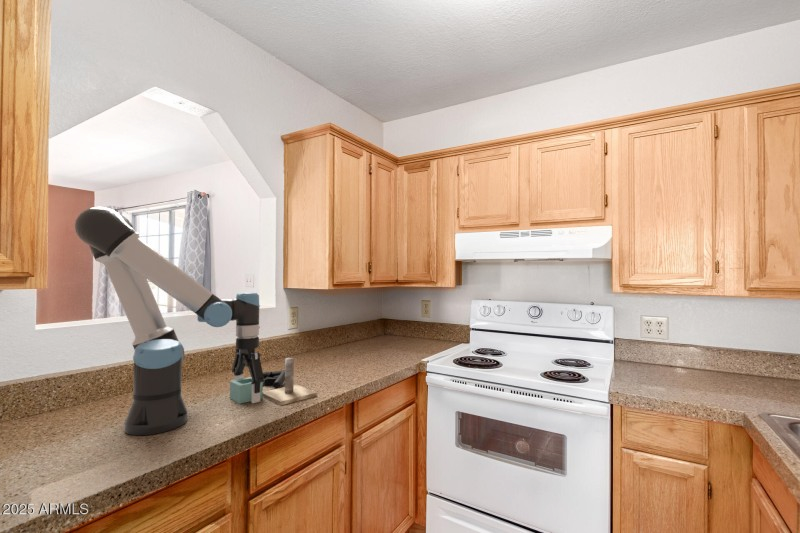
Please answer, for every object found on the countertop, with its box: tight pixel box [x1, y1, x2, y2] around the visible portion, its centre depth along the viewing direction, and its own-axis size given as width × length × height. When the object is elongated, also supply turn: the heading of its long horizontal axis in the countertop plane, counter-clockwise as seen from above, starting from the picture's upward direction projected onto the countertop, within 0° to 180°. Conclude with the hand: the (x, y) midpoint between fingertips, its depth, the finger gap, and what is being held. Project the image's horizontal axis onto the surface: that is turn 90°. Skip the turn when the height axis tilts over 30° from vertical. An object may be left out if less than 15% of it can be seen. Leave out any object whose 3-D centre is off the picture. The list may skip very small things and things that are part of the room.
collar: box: [229, 376, 264, 405], centre depth 131 cm, size 8×8×6 cm
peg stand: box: [262, 357, 318, 406], centre depth 134 cm, size 14×14×13 cm
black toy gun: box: [262, 369, 285, 389], centre depth 151 cm, size 3×20×16 cm
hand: (247, 397), depth 131 cm, fingers open, 13 cm apart
